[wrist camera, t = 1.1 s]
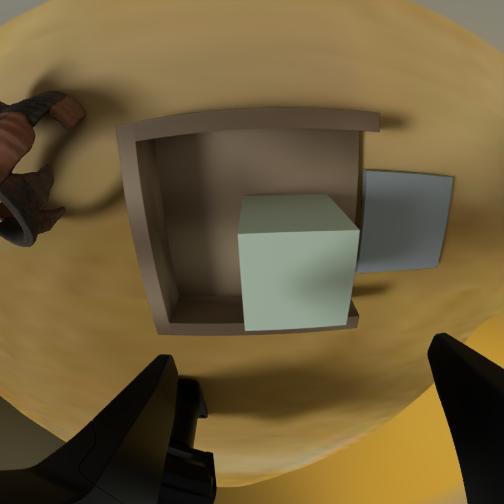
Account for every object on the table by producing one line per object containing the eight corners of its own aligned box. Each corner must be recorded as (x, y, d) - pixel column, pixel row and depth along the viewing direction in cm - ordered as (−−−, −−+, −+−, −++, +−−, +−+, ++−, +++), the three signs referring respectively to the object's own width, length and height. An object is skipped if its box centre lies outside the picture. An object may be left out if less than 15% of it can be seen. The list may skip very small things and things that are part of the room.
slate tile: (433, 263, 19) (436, 267, 19) (354, 269, 19) (357, 273, 19) (448, 175, 16) (453, 177, 16) (363, 169, 16) (367, 171, 16)
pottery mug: (125, 126, 16) (50, 223, 11) (83, 192, 22) (36, 270, 17) (14, 42, 9) (-76, 110, 5) (-3, 124, 15) (-61, 189, 11)
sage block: (322, 267, 19) (346, 324, 13) (247, 270, 19) (244, 330, 13) (326, 193, 17) (359, 230, 11) (243, 195, 17) (237, 233, 11)
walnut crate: (344, 298, 20) (356, 328, 17) (170, 304, 21) (158, 334, 18) (356, 113, 15) (379, 112, 12) (140, 123, 15) (115, 125, 12)
